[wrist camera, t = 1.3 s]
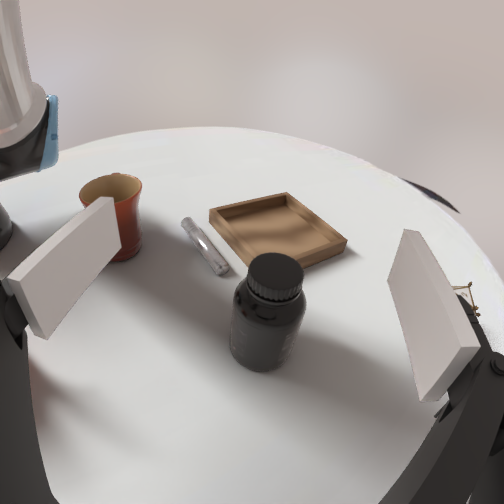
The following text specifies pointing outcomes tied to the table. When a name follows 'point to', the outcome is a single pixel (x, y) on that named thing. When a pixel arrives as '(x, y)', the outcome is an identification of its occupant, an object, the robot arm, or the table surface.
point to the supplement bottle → (267, 312)
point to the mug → (119, 208)
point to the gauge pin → (205, 246)
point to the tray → (276, 230)
